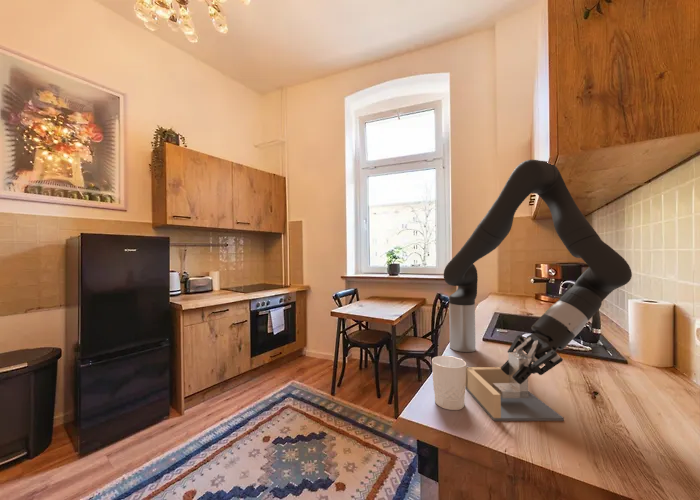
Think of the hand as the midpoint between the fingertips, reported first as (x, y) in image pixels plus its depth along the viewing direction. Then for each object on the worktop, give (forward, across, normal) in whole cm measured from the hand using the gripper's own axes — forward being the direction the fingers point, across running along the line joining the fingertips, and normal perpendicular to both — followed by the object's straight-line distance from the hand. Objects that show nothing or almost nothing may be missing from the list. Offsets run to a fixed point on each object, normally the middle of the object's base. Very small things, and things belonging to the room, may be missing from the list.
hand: (510, 376), depth 67 cm
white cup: (+15, -1, -5) cm, 16 cm away
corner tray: (+5, -1, +5) cm, 7 cm away
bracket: (+3, 0, +3) cm, 4 cm away
